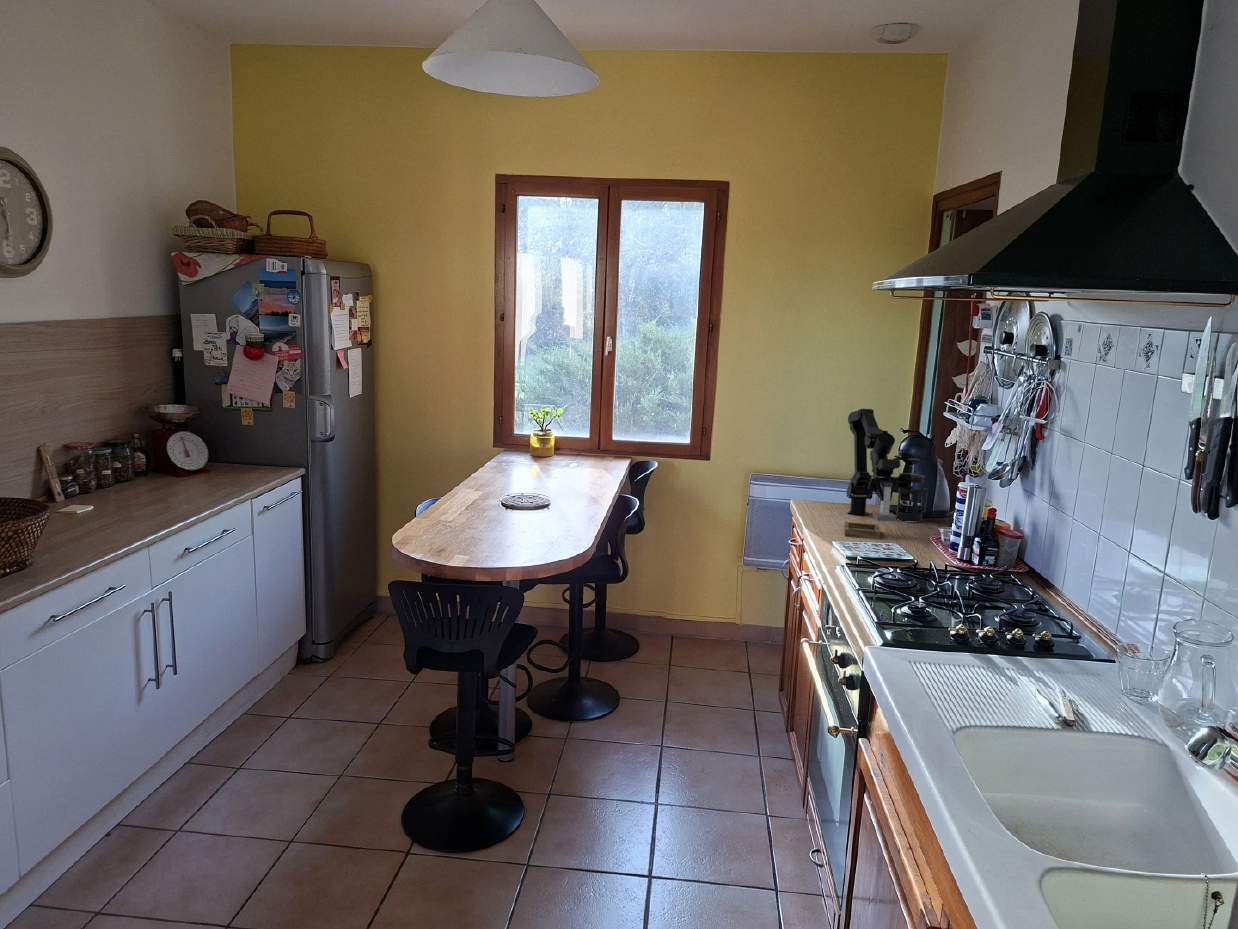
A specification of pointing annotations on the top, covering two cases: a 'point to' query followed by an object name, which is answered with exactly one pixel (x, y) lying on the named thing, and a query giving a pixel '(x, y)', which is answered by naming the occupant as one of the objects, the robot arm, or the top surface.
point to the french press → (914, 515)
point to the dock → (862, 530)
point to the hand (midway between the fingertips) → (886, 500)
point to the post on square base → (885, 503)
